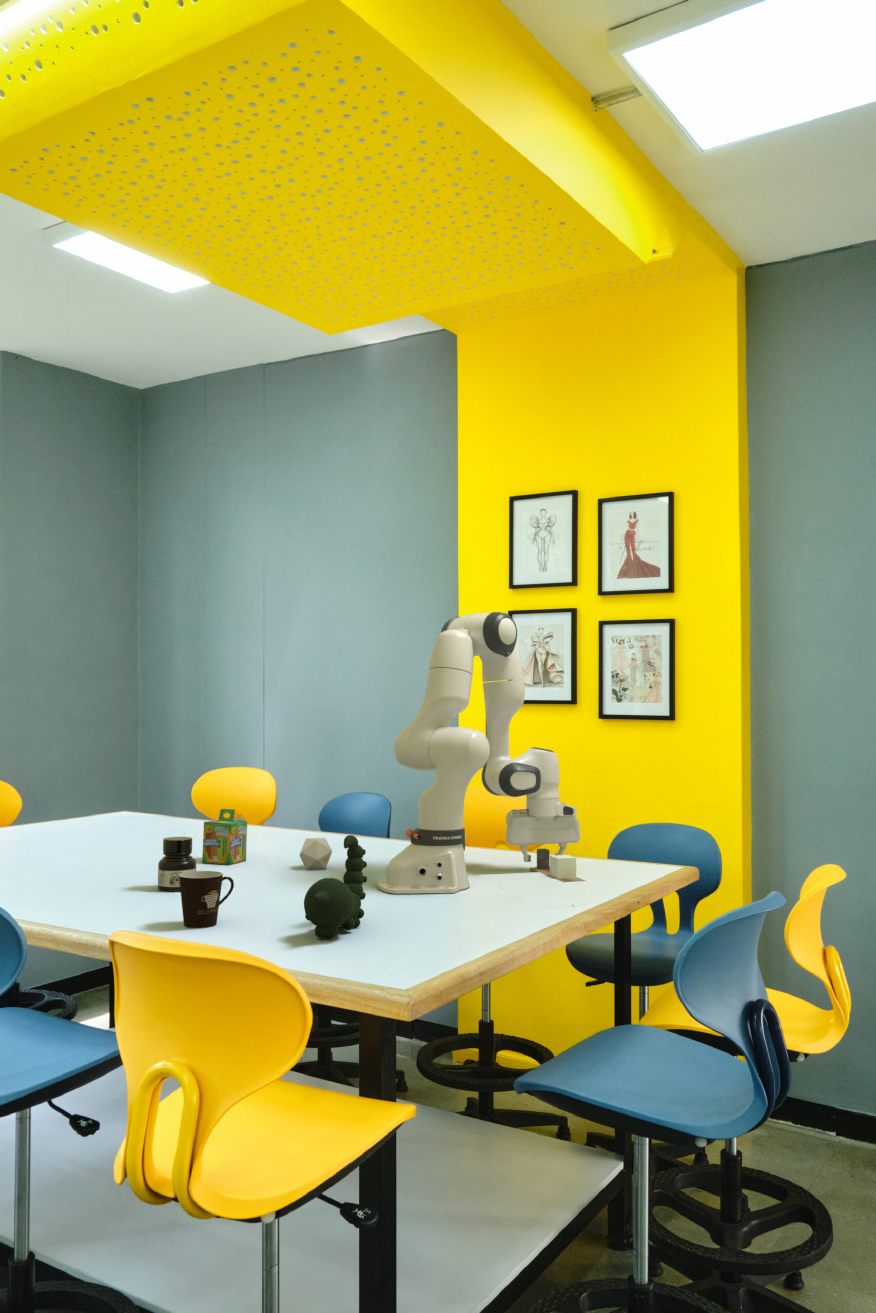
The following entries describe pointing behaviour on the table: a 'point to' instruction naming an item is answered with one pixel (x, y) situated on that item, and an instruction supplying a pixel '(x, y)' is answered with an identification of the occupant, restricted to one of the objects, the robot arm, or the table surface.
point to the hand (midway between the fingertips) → (543, 860)
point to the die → (315, 853)
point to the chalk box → (224, 840)
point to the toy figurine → (338, 896)
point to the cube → (562, 866)
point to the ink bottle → (175, 862)
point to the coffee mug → (201, 897)
